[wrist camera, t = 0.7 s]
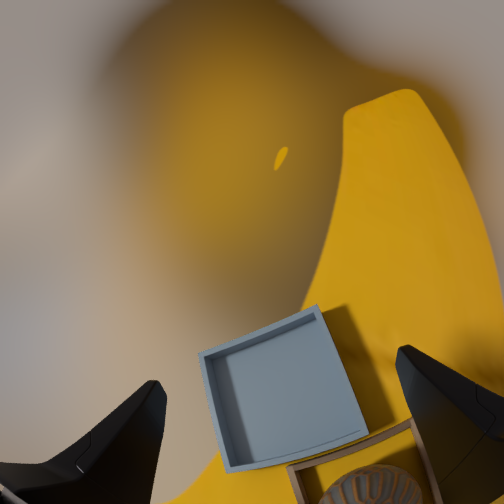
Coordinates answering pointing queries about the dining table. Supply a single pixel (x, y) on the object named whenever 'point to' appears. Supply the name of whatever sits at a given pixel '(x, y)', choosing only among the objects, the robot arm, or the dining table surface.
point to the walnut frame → (294, 468)
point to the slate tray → (280, 394)
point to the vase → (374, 487)
